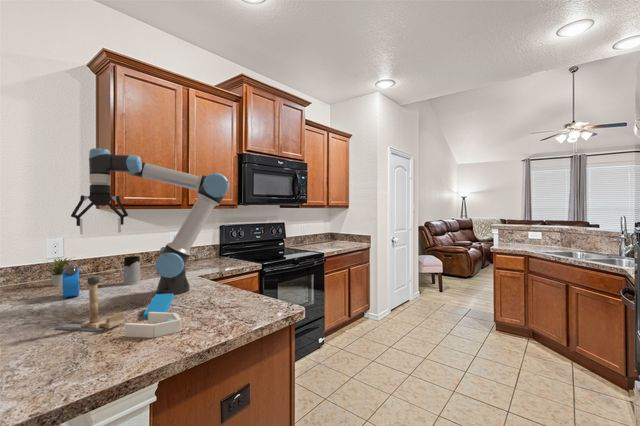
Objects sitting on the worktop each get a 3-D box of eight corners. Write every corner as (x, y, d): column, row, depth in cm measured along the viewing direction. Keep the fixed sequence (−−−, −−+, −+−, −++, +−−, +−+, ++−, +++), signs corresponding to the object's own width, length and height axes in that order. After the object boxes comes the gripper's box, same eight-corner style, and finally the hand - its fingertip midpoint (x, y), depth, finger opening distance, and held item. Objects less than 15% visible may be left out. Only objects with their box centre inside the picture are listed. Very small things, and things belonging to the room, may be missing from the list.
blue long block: (164, 328, 119) (176, 302, 136) (162, 313, 117) (175, 288, 134) (145, 330, 118) (160, 303, 135) (143, 314, 116) (158, 289, 133)
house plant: (84, 282, 178) (84, 254, 178) (62, 288, 164) (61, 257, 164) (62, 281, 179) (61, 254, 179) (38, 287, 165) (37, 257, 165)
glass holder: (131, 285, 168) (130, 258, 168) (112, 283, 173) (112, 257, 173) (144, 282, 177) (144, 256, 177) (126, 280, 181) (126, 255, 181)
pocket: (124, 336, 100) (124, 324, 100) (150, 322, 112) (150, 311, 112) (169, 338, 98) (169, 326, 98) (190, 324, 110) (190, 313, 110)
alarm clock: (64, 294, 151) (63, 264, 151) (79, 292, 155) (79, 263, 155) (62, 300, 141) (62, 268, 140) (79, 298, 144) (79, 266, 144)
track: (55, 329, 106) (55, 327, 106) (73, 322, 113) (73, 319, 113) (101, 331, 104) (101, 329, 104) (117, 324, 111) (117, 321, 111)
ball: (172, 316, 108) (177, 326, 107) (160, 323, 105) (166, 333, 105) (173, 315, 104) (179, 326, 104) (161, 322, 102) (167, 333, 102)
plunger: (78, 329, 106) (77, 279, 105) (94, 322, 112) (93, 275, 112) (109, 331, 104) (108, 280, 104) (123, 324, 110) (123, 276, 110)
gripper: (132, 186, 144) (133, 231, 144) (63, 184, 129) (64, 234, 129) (134, 185, 138) (135, 232, 138) (62, 182, 123) (63, 235, 123)
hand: (101, 233), depth 134 cm, fingers open, 13 cm apart
